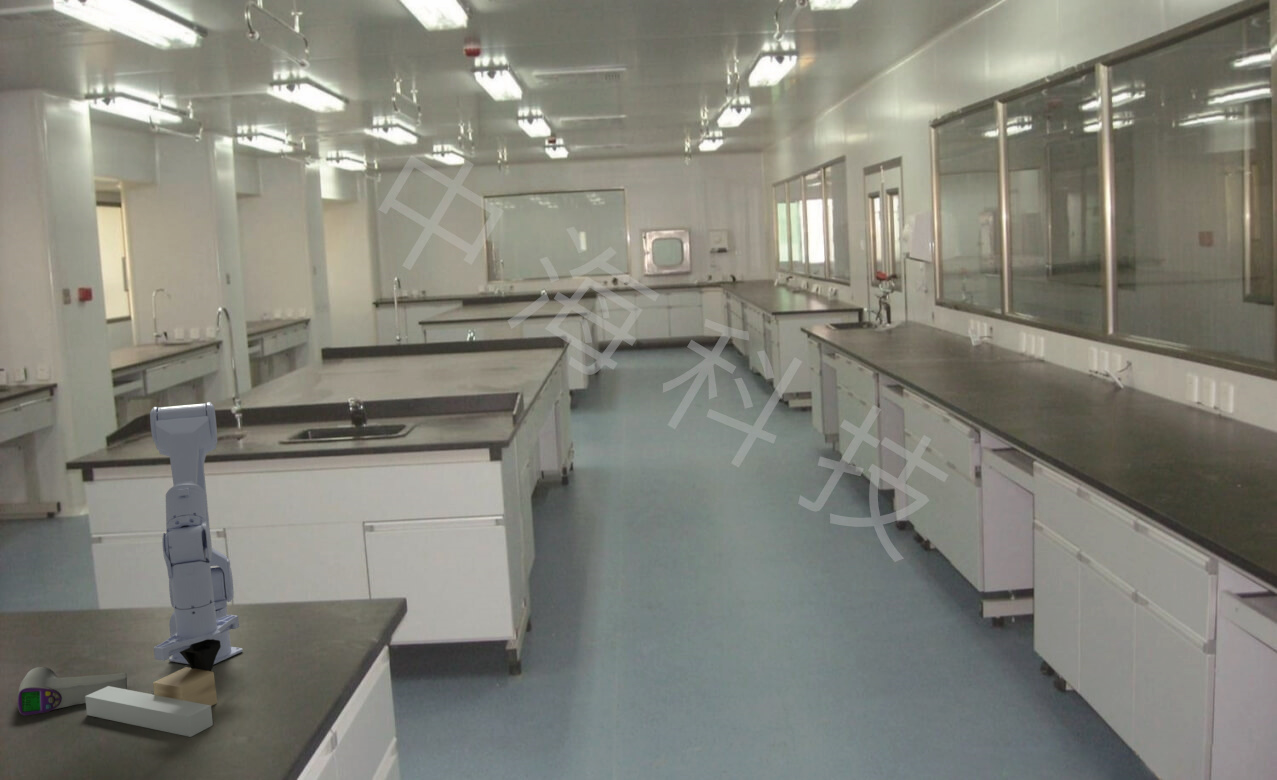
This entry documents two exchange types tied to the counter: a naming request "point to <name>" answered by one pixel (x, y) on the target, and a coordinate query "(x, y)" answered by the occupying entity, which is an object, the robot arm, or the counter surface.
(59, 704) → the infrared thermometer
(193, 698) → the block
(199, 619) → the robot arm
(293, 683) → the counter surface
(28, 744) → the counter surface
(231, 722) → the counter surface
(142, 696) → the board
